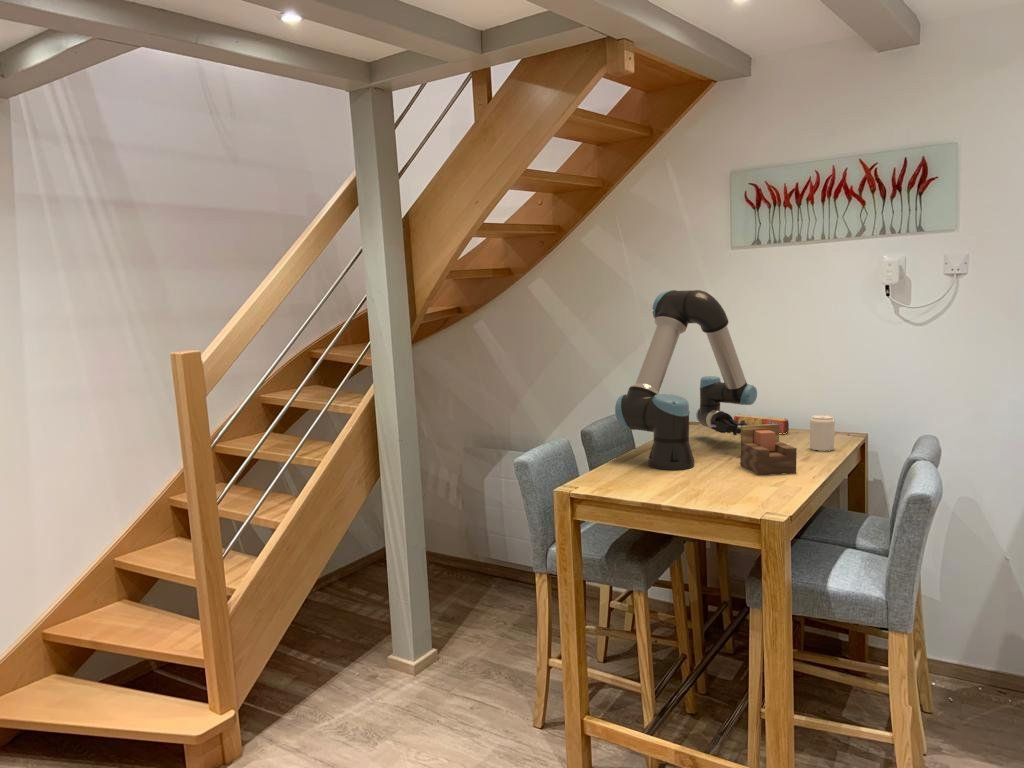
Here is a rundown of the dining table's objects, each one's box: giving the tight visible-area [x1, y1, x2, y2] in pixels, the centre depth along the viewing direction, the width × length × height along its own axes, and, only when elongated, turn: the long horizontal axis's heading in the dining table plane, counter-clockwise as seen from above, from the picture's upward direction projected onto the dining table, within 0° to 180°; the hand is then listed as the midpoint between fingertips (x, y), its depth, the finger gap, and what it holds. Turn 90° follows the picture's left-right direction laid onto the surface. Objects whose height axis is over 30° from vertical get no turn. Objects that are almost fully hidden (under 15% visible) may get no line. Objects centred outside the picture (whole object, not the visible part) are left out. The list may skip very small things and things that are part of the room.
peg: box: [753, 429, 775, 451], centre depth 266 cm, size 14×5×6 cm, turn 8°
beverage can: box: [809, 414, 836, 452], centre depth 287 cm, size 8×8×12 cm
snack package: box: [733, 413, 790, 434], centre depth 324 cm, size 21×7×7 cm, turn 54°
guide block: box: [740, 424, 798, 476], centre depth 260 cm, size 14×12×14 cm
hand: (747, 432), depth 276 cm, fingers closed
